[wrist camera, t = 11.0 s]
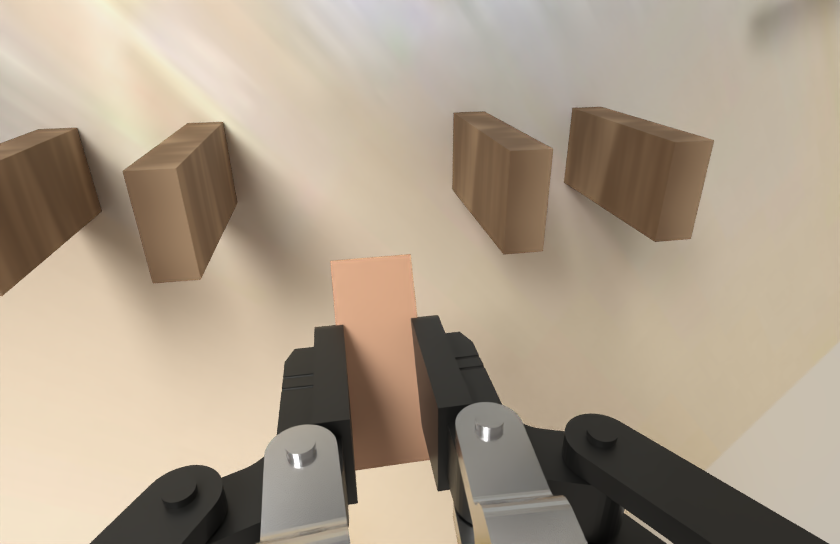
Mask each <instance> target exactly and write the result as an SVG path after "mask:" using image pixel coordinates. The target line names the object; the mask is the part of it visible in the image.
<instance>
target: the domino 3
mask: <svg viewBox="0 0 840 544" xmlns="http://www.w3.org/2000/svg"><path fill="white" fill-rule="evenodd" d="M330 262H331V274H332V285H333V297H334V309H335V320H336V325H343V327H344V339H345V351H346V363H347V374H348V386H349V398H350V410H351V422H352V433H353V447H354V460H355V470H362V469H369V468H376V467H383V466H390V465H396V464H403V463H410V462H417V461H424V460H430V458H429V454H428V450H427V446H426V442H425V438H424V434H423V429H422V424H421V414H420V404H419V395H418V385H417V375H416V366H415V356H414V346H413V337H412V327H411V318H416V317H417V310H416V301H415V292H414V282H413V273H412V264H411V255H410V254H407V255H395V256H383V257H371V258H359V259H347V260H335V261H330Z"/></svg>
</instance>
